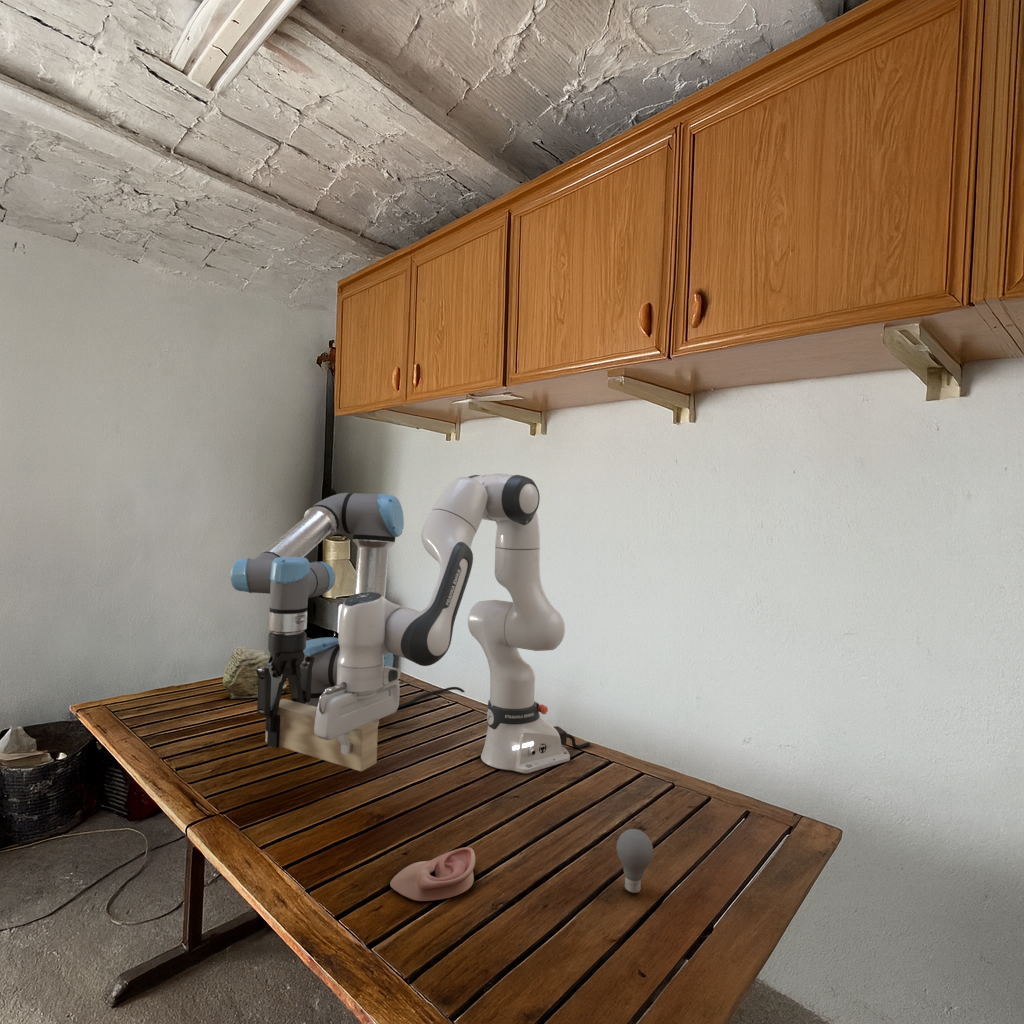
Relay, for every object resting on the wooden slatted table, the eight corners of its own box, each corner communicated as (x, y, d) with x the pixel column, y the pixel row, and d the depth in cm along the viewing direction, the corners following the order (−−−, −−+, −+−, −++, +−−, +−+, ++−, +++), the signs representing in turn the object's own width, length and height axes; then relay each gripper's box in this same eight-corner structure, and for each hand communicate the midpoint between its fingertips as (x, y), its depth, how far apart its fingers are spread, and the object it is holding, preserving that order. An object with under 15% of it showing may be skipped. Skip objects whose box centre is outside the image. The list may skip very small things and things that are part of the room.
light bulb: (610, 879, 108) (613, 822, 108) (644, 879, 109) (647, 822, 109) (619, 902, 102) (622, 840, 102) (655, 901, 103) (658, 840, 103)
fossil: (218, 695, 195) (220, 647, 195) (278, 685, 208) (279, 640, 207) (228, 703, 189) (230, 653, 188) (289, 692, 201) (290, 645, 201)
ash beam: (265, 742, 132) (266, 703, 132) (282, 735, 136) (283, 698, 136) (360, 771, 120) (362, 729, 120) (376, 763, 124) (378, 722, 124)
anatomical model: (383, 870, 101) (409, 834, 113) (382, 895, 101) (408, 856, 113) (463, 884, 99) (481, 845, 110) (461, 909, 99) (480, 868, 110)
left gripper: (265, 641, 123) (260, 760, 123) (331, 627, 138) (327, 733, 139) (239, 635, 126) (235, 751, 127) (307, 622, 142) (303, 726, 142)
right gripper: (333, 693, 112) (330, 770, 113) (405, 668, 130) (403, 735, 130) (307, 687, 115) (305, 762, 116) (382, 663, 133) (379, 728, 133)
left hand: (283, 742), depth 133 cm, fingers closed on ash beam, 5 cm apart
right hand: (357, 747), depth 123 cm, fingers closed on ash beam, 4 cm apart
